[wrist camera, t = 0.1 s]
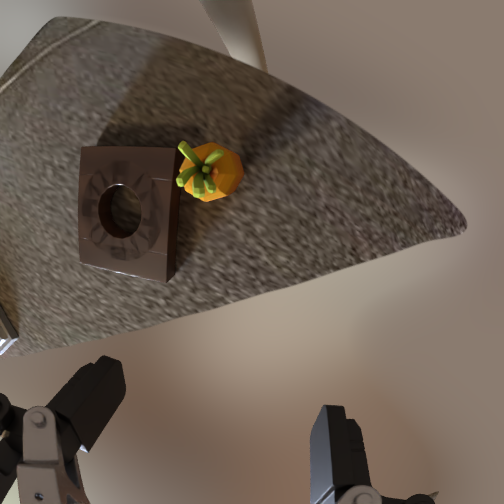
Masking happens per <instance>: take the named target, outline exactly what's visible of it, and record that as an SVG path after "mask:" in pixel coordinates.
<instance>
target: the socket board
mask: <svg viewBox="0 0 504 504" xmlns="http://www.w3.org/2000/svg"><path fill="white" fill-rule="evenodd" d="M183 162H184V154H183V153H182V152H181V151H180V150H179V148H167V147H141V146H89V147H81V158H80V171H79V192H78V232H79V254H80V263H83V264H87V265H91V266H95V267H99V268H103V269H107V270H111V271H115V272H119V273H123V274H127V275H132V276H136V277H140V278H145V279H149V280H154V281H158V282H163V283H167V282H168V281H169V280H170V279H171V278H172V277H173V276H174V275H175V263H176V243H177V227H178V214H179V202H180V191H181V187H180V186H178V184H177V182H176V178H177V177H178V175H179V174H180V168H181V166H182V164H183ZM121 185H125V186H126V187H128V188H130V189H131V190H133V192H134V193H135V194H136V196H137V197H138V199H139V202H140V205H141V209H142V211H141V222H140V224H139V227H138V229H137V230H136V231H135V232H134V233H129V232H125V231H123V230H122V229H120V228H119V227H118V226H117V224H116V223H115V222H114V220H113V217H112V214H111V199H112V197H113V194H114V192H115V191H116V190H117V189H118V188H119V187H120V186H121Z"/></svg>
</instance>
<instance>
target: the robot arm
mask: <svg viewBox="0 0 504 504" xmlns="http://www.w3.org/2000/svg"><path fill="white" fill-rule="evenodd" d="M125 392H126V384H125V379H124V374H123V369H122V364H121V362H120V361H119V360H116V359H113V358H110V357H108V356H105V355H104V356H101V357H100V358H99V359H98V360H97V362H96V363H95V364H93V363H89V364H87V365H85V366H83V367H81V368H80V369H79V370H78V371H77V372H76V373H75V374H74V375H73V377H72V378H71V379H70V380H69V381H68V383H66V384H65V385H64V386H63V388H62V389H61V390H60V391H59V392H58V393H57V394H56V395H55V396H54V398H53V399H52V400H51V401H50V402H49V403H48V405H46V406H45V407H43V406H35V407H32V408H30V409H28V410H26V409H23V408H20V407H16V406H13V405H11V403H10V401H9V400H8V398H7V397H6V396H5V395H4V394H2V393H0V436H2V440H1V441H0V504H2V502H3V500H4V498H5V496H6V495H7V493H8V491H9V490H10V488H11V486H12V485H13V483H14V481H15V480H16V478H17V480H18V489H19V498H20V504H90V502H89V500H88V498H87V496H86V494H85V491H84V487H83V483H82V479H81V474H80V470H79V464H78V459H77V455H76V453H77V451H78V450H79V449H81V450H83V451H85V452H87V453H89V451H90V449H91V448H92V446H93V445H94V443H95V442H96V440H97V438H98V437H99V436H100V434H101V432H102V431H103V429H104V428H105V426H106V425H107V423H108V422H109V420H110V419H111V417H112V416H113V414H114V413H115V411H116V409H117V408H118V406H119V405H120V403H121V402H122V400H123V399H124V396H125ZM364 449H365V448H364V443H363V437H362V432H361V428H360V427H359V426H358V424H357V423H356V421H355V420H354V419H346V414H345V409H344V407H343V406H337V405H323V407H322V409H321V411H320V413H319V415H318V417H317V419H316V422H315V423H314V425H313V428H312V431H311V436H310V469H311V471H310V472H311V499H310V501H311V503H310V504H435V502H434V501H433V499H432V498H431V497H429V496H427V495H425V494H416V495H413V496H411V497H410V498H408V499H407V500H402V499H395V498H388V497H384V496H381V495H380V494H379V492H378V491H377V490H376V489H374V488H373V487H372V485H371V482H370V476H369V470H368V464H367V458H366V453H365V451H364Z"/></svg>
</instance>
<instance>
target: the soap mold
mask: <svg viewBox="0 0 504 504" xmlns="http://www.w3.org/2000/svg"><path fill="white" fill-rule="evenodd" d="M18 338H19V337H18V335H17V334H16V332H15V330H14V329H13V327H12V325H11V324H10V322H9V320H8V319H7V317H6V315H5V313H4V312H3V310H2V308H1V306H0V355H1V354H3V353H4V352H5V351H6V350H7V349H8V348H9V347H10V346H11V345H12V344H13V343H14V342H15V341H16V340H17V339H18Z"/></svg>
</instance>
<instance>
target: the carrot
mask: <svg viewBox="0 0 504 504" xmlns="http://www.w3.org/2000/svg"><path fill="white" fill-rule="evenodd" d="M178 148H179V150H180V151H181V152H182V153H183V154H184V156H185V157H186V158H185V160H184V162H183V164H182V166H181V168H180V174H179V175H178V177H177V178H176V182H177V184H178V186H180V187H182V186H184V187H185V191H187V192H188V193H190V194H192V195H194V197H197V198H199V199H201V200H203V201H205V202H208V201H211V200H214V199H218V198H221V197H225V196H228V195H230V194H232V193H233V192H234V191H235V190H236V188H237V187H238V185H239V183H240V181H241V179H242V178H243V176H244V170H243V167H242V164H241V160H240V157H239V155H237V154H236V153H234V152H232V151H230V150H228V149H226V148H224V147H222V146H220V145H218V144H216V143H214V142H210V143H207V144H204V145H201V146H199V147H196V148H193V149H191V147H190V146H189V145H188V144H187V143H186V142H185V141H182V142H181V143H180V144H179V146H178Z"/></svg>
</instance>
